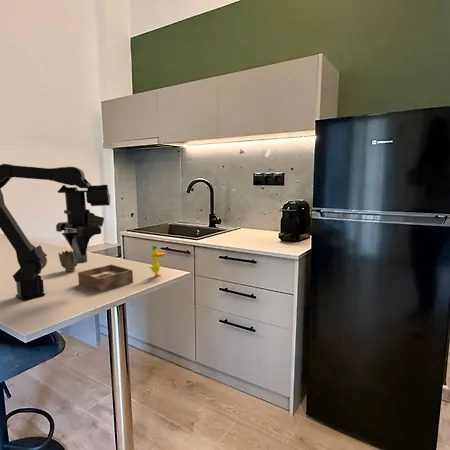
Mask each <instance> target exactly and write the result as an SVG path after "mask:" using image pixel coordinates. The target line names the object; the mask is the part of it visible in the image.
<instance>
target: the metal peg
mask: <svg viewBox="0 0 450 450" xmlns="http://www.w3.org/2000/svg"><path fill="white" fill-rule="evenodd" d="M72 245H73V249H72V252H73V256H74V263H76V264H77V265H78V264H79V265H80V264H85V263H87V262H88V255H87V254H88V253H87V252H88V251H87V250H86V254H85V255H83V256H82V255H81V253H80V251H79V249H78V246H77V244H76V241H75V239H74V238H72Z"/></svg>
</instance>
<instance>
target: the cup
mask: <svg viewBox="0 0 450 450" xmlns="http://www.w3.org/2000/svg"><path fill="white" fill-rule="evenodd" d="M58 257H59V262H60V265H61V267H62V268H64V271H65V272H66V273H73V272H75V271H76V268H77V266H78V264H76V263H74V256H73V250H69V251H68V250H65V251H62V252H58Z"/></svg>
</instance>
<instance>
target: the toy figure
mask: <svg viewBox="0 0 450 450" xmlns="http://www.w3.org/2000/svg"><path fill="white" fill-rule="evenodd" d="M151 247H152V248H151V249H152V250H151V252H152V254H151V255H150V257H151V258H152V262H153V263H152V264H151V265H150V266H148V267H149V269H150V270H151V271H152V272H153V273H154V278H158V276H159V277H161V274H160V273H159V272H160V268H161V267H160V263H158V260H159V259H158V258H162V257H165V256H166V255H167V254H166V253H165V252H159V251H158V247H157V245H152V246H151Z"/></svg>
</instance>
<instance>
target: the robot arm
mask: <svg viewBox="0 0 450 450" xmlns="http://www.w3.org/2000/svg"><path fill="white" fill-rule="evenodd" d="M85 176H86V175H85V173H84V171H83V170H82V169H81V168H80V167H76V166H62V167H52V168H50V167H49V168H47V167H39V166H37V167H35V166H24V165H14V164H8V163H1V164H0V230H1V231H2V233H3V235H4V236H5V237H6V239H7V240H8V242H9V243H10V245H11V246H12V248H13V249H14V251H15V253H16V254H15V255H16V259H17V261H16V262H18V266H19V269H18V270H17V271H16V272H15V273H14V274H12V278H13V280H14V281H15V282H16V283H15V284H16V291H17V292H16V294H15V297H16V298H18V300H19V299H20V300H21V301H23V302H24V301H28V300H32V299H35V298H40V297H42V296H45V295H46V293H45V288H44V287H45V286H44V280H43V279H42V276H41V275H40V274H41V273H42V270H43V269H44V268H45V267H46V266H47V263H48V259H47V256H48V254H46V253H45V252H44V250H43V248H42V246H41V245H37V246H35V245H33V244H32V243H31V242H30V240H29V239H28V237H27V236H26V234H25V233H24V232H23V230H22V228H21V226H20V225H19V224H18V223H17V221H16V219H15V217H14V216H13V215H12V213H11V212H10V210H9V208H8V207H7V206H6V203H5V198H4V194H3V192H2V188H3V187H5V186H6V185H7V184H8V183H9V181H10V180H11V179H13V178H19V179H20V178H21V179H32V180H44V181H50V182H51V181H52V182H55V183H59V184H63V185H62V186H61V187H60V188H59V189H58V190H57V194H64V196H65V207H66V210H63V213H64V214H65V215H66V218H67V219H66V220H67V221H62V222H58V223H56V225H55V231H56V232H58V233H59V232H62V233H61V235H63V237H64V239H65V240H66V242H67V244H68V245H69V246H70V247H71V249H72V250H73V245H72V238H74V239H75V241H76V244H77V246H78V249H79V251H80V253H81V255H82V256H83V255H85V254H86V251H87V250H88V246H89V242H90V240H91V239H92V237H94V236H95V235H101V234H102V227H103V224H104V221H105V217H102V216H99V215H96V214H95V212H94V213H93V212H91V211H90V209H88V208H87V206H86V202H87V204H90V206H91V207H100V206H101V207H103V206H110V205H111V195H110V191H109V190H110V189H109V185H108V184H100V185H99V184H98V185H97V184H96V185H92V184H91V183H90V182H89V181H88V180H87V178H85ZM67 185H68V186H71V187H67ZM72 186H73V187H72ZM79 189H84V190H79ZM86 189H87V190H86ZM85 193H86V194H85Z"/></svg>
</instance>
